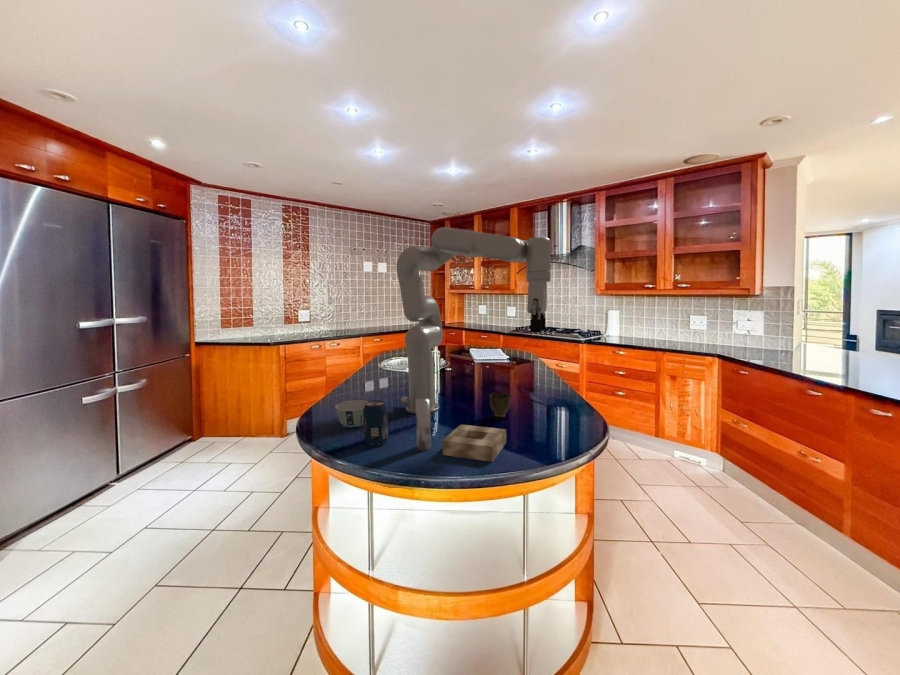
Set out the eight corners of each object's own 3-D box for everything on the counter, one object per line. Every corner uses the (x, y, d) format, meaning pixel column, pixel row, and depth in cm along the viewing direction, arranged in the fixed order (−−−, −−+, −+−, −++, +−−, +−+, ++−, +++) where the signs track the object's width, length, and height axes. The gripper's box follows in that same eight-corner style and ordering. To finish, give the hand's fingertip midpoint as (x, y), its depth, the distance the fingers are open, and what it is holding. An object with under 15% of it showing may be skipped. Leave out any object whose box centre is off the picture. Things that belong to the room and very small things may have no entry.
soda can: (366, 439, 123) (364, 400, 122) (389, 438, 123) (388, 399, 122) (363, 447, 116) (361, 406, 115) (387, 446, 116) (385, 405, 115)
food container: (343, 417, 145) (342, 400, 144) (376, 418, 143) (375, 400, 143) (330, 429, 133) (329, 409, 132) (366, 429, 131) (365, 410, 131)
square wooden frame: (442, 454, 110) (442, 440, 109) (460, 437, 122) (460, 424, 122) (492, 461, 104) (492, 446, 104) (506, 442, 117) (506, 429, 117)
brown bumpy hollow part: (510, 413, 145) (510, 391, 144) (511, 420, 137) (511, 397, 136) (489, 413, 145) (489, 391, 144) (489, 420, 138) (489, 397, 137)
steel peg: (414, 449, 114) (412, 400, 112) (420, 444, 118) (419, 397, 116) (427, 451, 112) (426, 401, 111) (433, 446, 116) (432, 398, 114)
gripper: (531, 278, 139) (531, 328, 140) (521, 277, 123) (521, 333, 124) (553, 277, 136) (553, 328, 138) (546, 276, 120) (546, 333, 122)
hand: (538, 330), depth 131 cm, fingers open, 9 cm apart
